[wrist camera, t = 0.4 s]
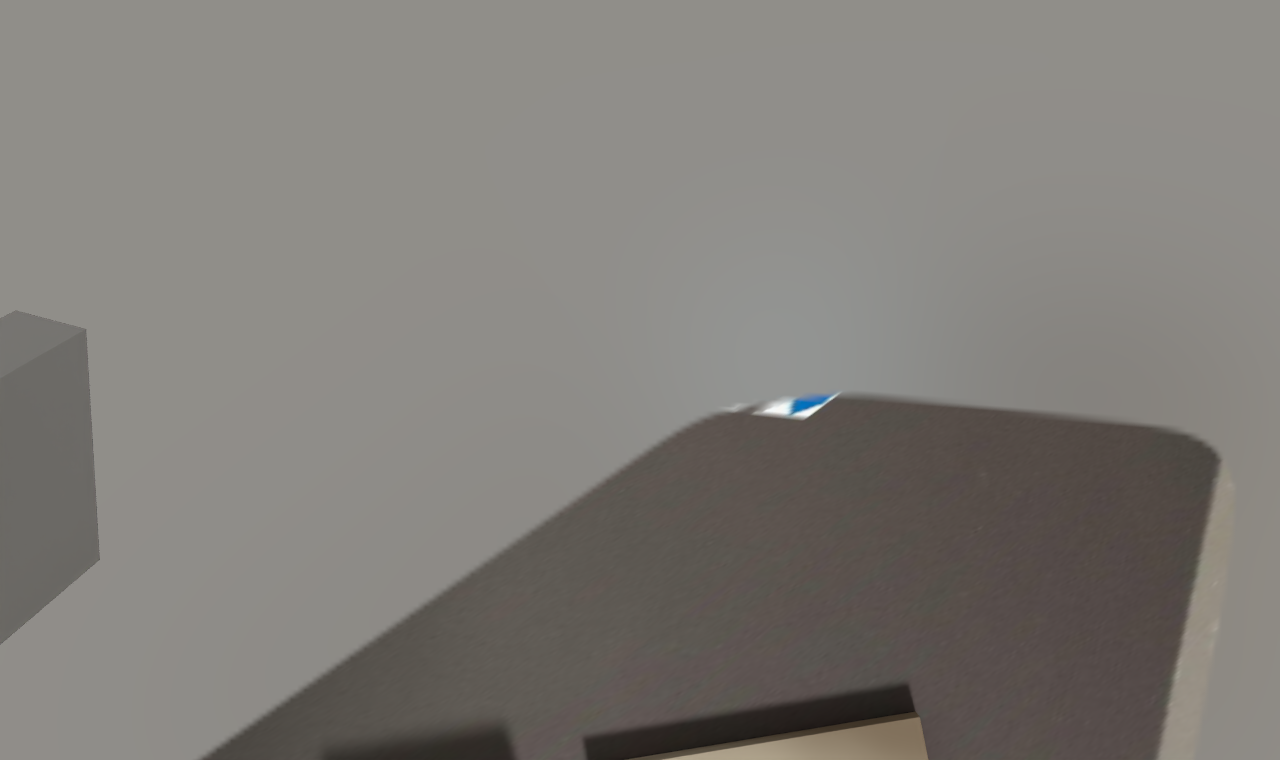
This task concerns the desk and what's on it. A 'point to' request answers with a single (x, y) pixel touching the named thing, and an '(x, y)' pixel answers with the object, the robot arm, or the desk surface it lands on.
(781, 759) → the birch board
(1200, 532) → the desk surface
